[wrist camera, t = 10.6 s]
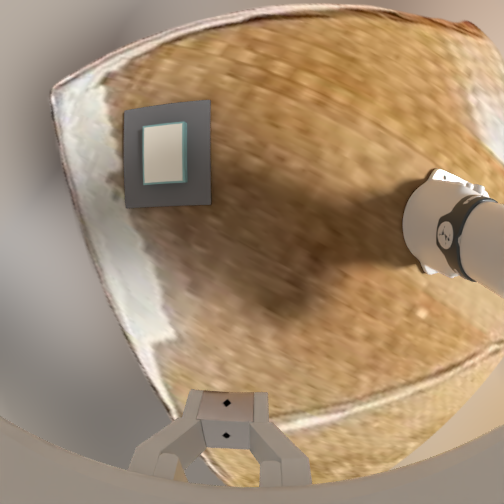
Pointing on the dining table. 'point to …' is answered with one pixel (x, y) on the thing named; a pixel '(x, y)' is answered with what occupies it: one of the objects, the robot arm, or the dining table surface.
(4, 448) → the robot arm
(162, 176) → the box
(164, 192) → the mat
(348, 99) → the dining table surface
